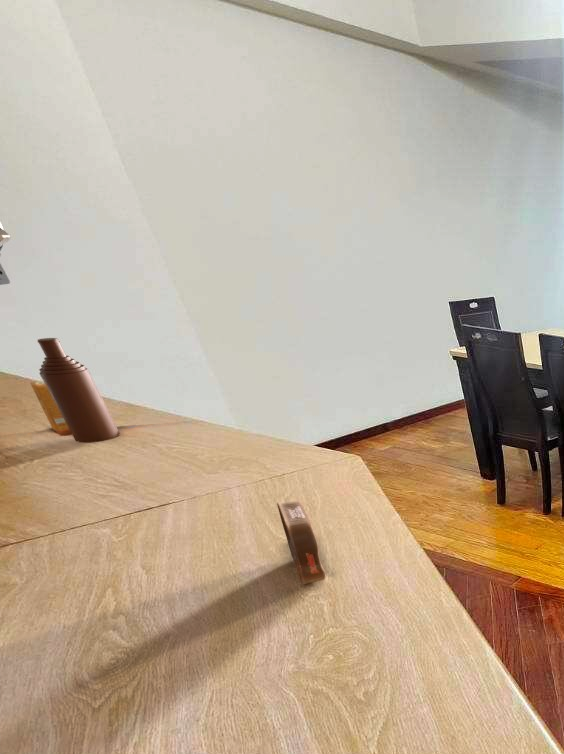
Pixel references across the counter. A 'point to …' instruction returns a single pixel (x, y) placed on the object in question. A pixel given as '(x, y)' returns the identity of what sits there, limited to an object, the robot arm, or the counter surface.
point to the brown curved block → (301, 541)
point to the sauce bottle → (75, 395)
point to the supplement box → (50, 409)
